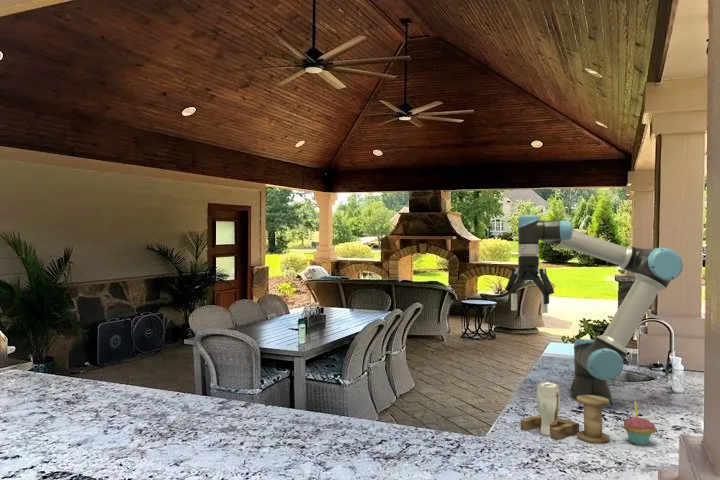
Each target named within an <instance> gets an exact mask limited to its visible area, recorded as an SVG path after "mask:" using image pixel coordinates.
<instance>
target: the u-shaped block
mask: <svg viewBox="0 0 720 480" xmlns="http://www.w3.org/2000/svg"><path fill="white" fill-rule="evenodd" d="M539 426H540V416H539V414H536V415H533V416H529V417H526V418H522V419H520V430H522V431H524V432H526V431H530V430H533V429H537V428H539ZM579 431H580V423H579V422H575V421H573V420H568V419H565V418H561V417H558V426H557V427H554V428H551V436H550V439H552V440H554V441H558V440H561V439H565V438H568V437H571V436H574V435H577V432H579Z"/></svg>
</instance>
